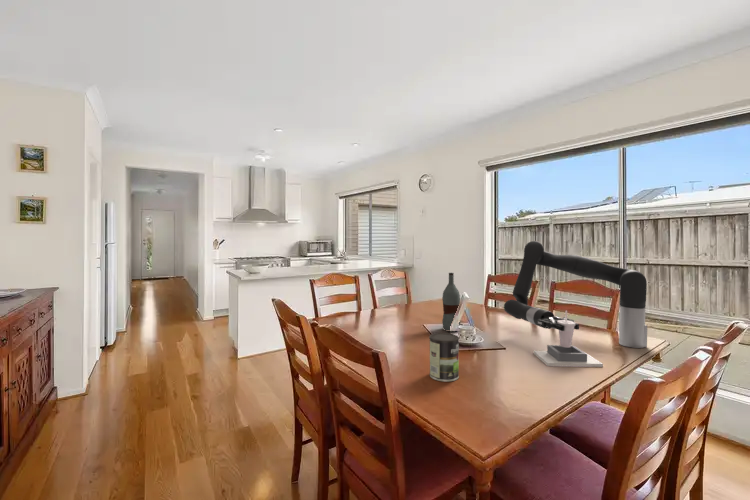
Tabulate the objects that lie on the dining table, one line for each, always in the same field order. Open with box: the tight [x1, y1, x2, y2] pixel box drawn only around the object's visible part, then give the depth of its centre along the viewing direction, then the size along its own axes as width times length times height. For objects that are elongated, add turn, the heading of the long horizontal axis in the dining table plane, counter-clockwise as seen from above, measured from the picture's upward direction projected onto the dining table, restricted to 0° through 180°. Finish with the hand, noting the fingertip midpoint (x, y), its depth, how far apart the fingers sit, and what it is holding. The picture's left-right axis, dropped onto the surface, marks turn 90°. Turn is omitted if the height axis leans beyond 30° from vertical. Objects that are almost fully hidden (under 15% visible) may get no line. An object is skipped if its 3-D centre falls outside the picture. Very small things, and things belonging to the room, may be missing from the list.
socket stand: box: [533, 344, 604, 368], centre depth 138 cm, size 20×14×4 cm
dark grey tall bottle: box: [442, 272, 461, 330], centre depth 183 cm, size 9×9×30 cm
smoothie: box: [557, 310, 576, 348], centre depth 138 cm, size 6×6×14 cm
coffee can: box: [428, 332, 460, 383], centre depth 124 cm, size 10×10×14 cm
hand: (571, 327), depth 136 cm, fingers closed on smoothie, 6 cm apart
